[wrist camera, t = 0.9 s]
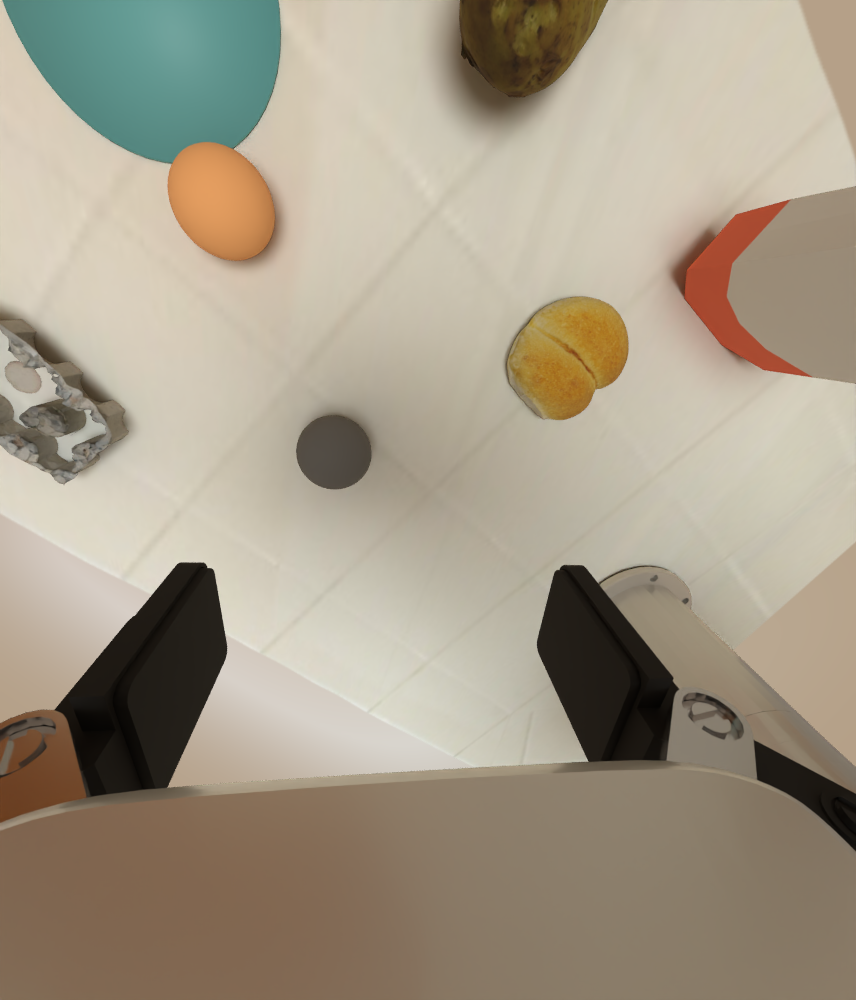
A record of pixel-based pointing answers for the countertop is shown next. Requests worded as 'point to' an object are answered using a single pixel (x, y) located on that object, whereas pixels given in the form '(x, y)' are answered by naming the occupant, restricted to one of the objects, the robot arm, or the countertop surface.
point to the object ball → (221, 201)
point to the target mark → (156, 66)
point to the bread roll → (567, 356)
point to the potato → (525, 39)
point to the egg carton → (52, 410)
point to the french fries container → (784, 286)
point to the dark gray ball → (333, 452)
